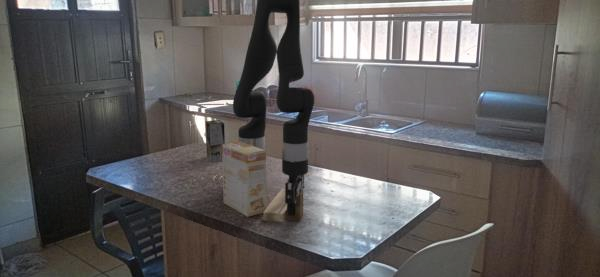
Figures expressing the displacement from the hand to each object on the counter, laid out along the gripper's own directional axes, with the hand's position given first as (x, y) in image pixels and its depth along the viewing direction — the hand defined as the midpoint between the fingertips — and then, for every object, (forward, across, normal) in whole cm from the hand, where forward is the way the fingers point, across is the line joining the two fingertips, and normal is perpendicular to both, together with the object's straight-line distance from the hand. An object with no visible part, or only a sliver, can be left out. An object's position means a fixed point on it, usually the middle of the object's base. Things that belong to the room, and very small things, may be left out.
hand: (295, 209), depth 141 cm
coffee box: (+3, -56, -48) cm, 73 cm away
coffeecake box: (+3, -4, -17) cm, 18 cm away
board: (+2, -7, -6) cm, 9 cm away
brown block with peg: (+2, 0, 0) cm, 2 cm away
